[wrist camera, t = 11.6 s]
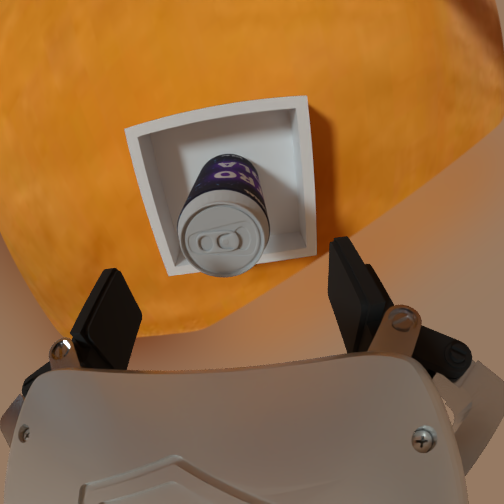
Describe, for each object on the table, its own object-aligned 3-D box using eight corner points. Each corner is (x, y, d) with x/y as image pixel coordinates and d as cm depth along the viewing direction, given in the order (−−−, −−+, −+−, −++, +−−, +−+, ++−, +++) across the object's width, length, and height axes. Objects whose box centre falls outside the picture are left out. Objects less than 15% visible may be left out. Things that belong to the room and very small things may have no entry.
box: (296, 96, 22) (306, 95, 19) (307, 235, 30) (316, 255, 26) (139, 124, 22) (124, 129, 19) (175, 255, 30) (168, 276, 27)
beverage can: (260, 204, 27) (274, 278, 17) (204, 210, 27) (184, 286, 17) (256, 148, 24) (269, 190, 14) (195, 155, 24) (162, 202, 14)
